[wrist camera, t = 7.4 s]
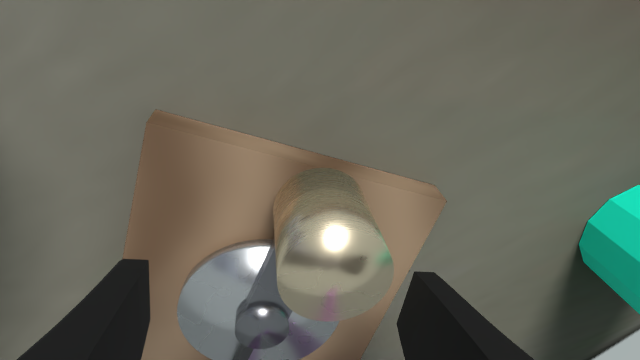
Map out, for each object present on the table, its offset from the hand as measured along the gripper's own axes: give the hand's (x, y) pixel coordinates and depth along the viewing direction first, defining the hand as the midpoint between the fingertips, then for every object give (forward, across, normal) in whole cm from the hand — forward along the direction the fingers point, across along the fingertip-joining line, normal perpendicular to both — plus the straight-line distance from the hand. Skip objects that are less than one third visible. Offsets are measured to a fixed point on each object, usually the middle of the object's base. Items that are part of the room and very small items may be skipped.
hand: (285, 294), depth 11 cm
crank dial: (+6, -1, +4) cm, 8 cm away
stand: (+8, 0, +6) cm, 10 cm away
